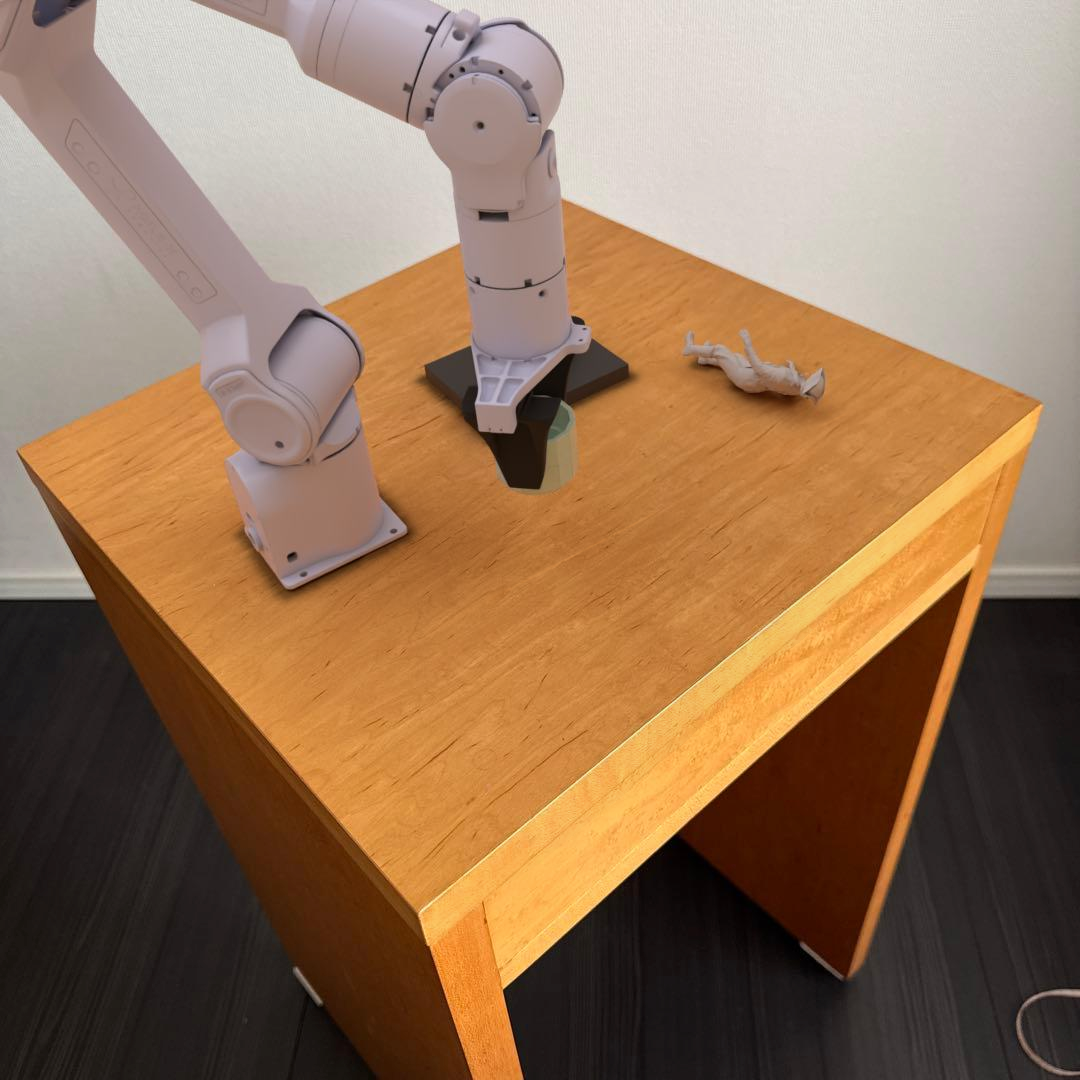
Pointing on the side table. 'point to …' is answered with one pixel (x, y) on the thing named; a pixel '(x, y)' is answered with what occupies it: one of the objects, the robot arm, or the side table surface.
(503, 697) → the side table surface
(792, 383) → the soldier figure
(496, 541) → the side table surface
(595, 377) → the scale
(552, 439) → the pale green cup
